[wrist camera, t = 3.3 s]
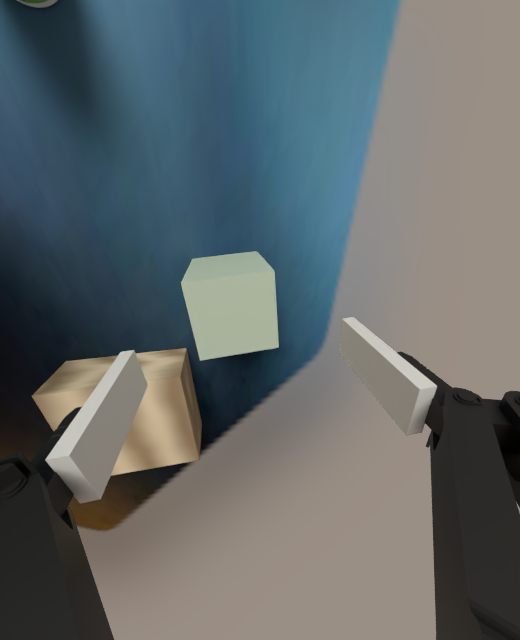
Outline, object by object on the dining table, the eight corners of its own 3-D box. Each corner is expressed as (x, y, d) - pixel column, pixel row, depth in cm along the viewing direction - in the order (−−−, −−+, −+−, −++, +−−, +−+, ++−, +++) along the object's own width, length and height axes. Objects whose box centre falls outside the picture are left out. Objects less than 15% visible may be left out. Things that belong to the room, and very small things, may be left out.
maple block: (105, 437, 34) (84, 480, 29) (67, 359, 28) (31, 396, 22) (202, 422, 36) (199, 460, 31) (186, 346, 30) (180, 377, 24)
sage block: (205, 316, 28) (200, 360, 20) (192, 258, 25) (180, 283, 17) (261, 308, 29) (278, 347, 21) (256, 251, 26) (274, 271, 18)
